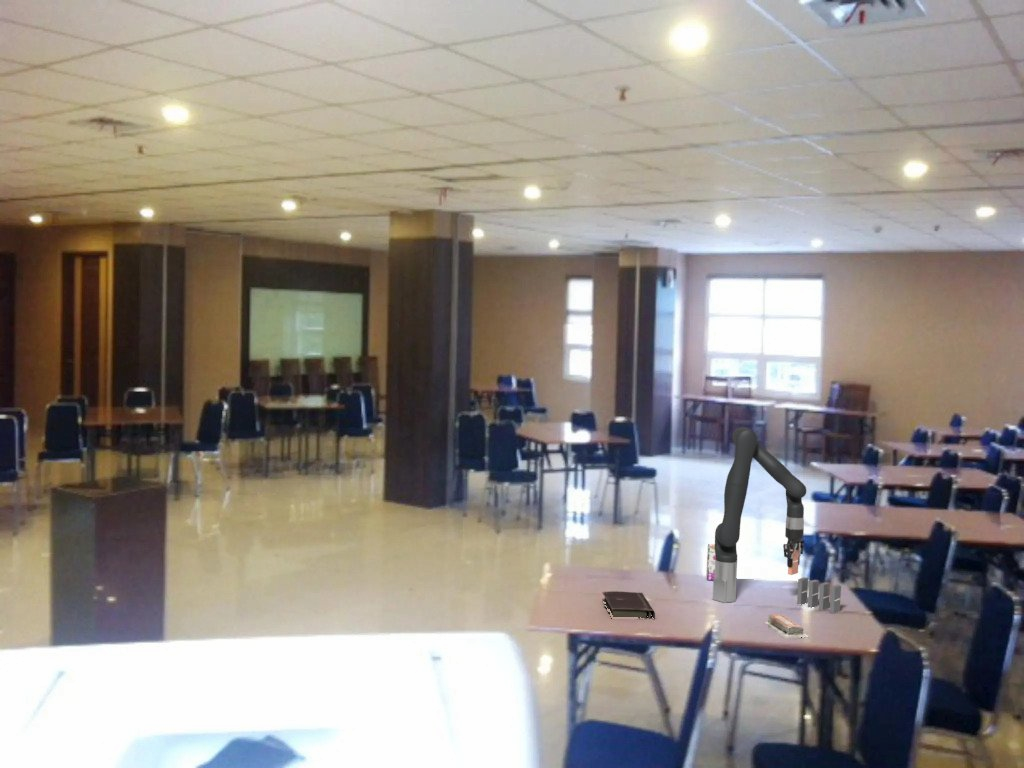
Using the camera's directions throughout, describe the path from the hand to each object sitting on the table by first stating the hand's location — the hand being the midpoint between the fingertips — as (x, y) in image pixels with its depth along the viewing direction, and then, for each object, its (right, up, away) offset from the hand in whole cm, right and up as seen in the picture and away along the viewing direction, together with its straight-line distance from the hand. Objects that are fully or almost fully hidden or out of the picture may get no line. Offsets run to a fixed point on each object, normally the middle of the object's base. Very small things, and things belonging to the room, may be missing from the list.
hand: (793, 565), depth 409 cm
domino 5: (+13, -17, -13) cm, 25 cm away
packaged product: (-15, -19, -40) cm, 46 cm away
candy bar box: (-25, -13, +33) cm, 43 cm away
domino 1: (0, -4, 0) cm, 4 cm away
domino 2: (+3, -16, -3) cm, 16 cm away
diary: (-74, -16, -18) cm, 78 cm away
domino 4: (+10, -17, -10) cm, 22 cm away
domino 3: (+6, -16, -6) cm, 19 cm away
